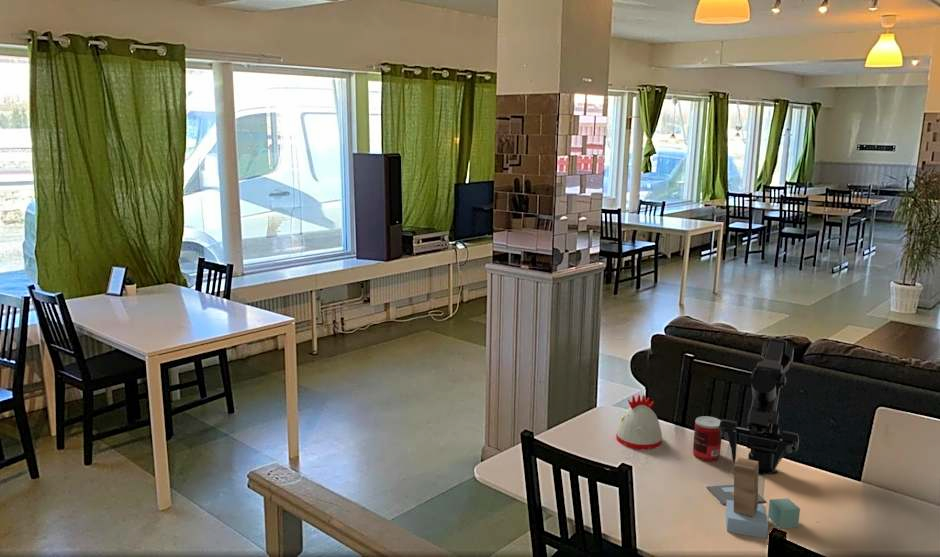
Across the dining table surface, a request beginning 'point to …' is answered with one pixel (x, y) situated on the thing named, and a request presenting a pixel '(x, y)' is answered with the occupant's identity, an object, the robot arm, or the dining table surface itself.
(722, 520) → the dining table surface
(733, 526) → the blue base block
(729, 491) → the card
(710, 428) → the canned food
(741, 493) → the walnut pillar
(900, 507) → the dining table surface
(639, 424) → the kitchen timer
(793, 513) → the teal cube
